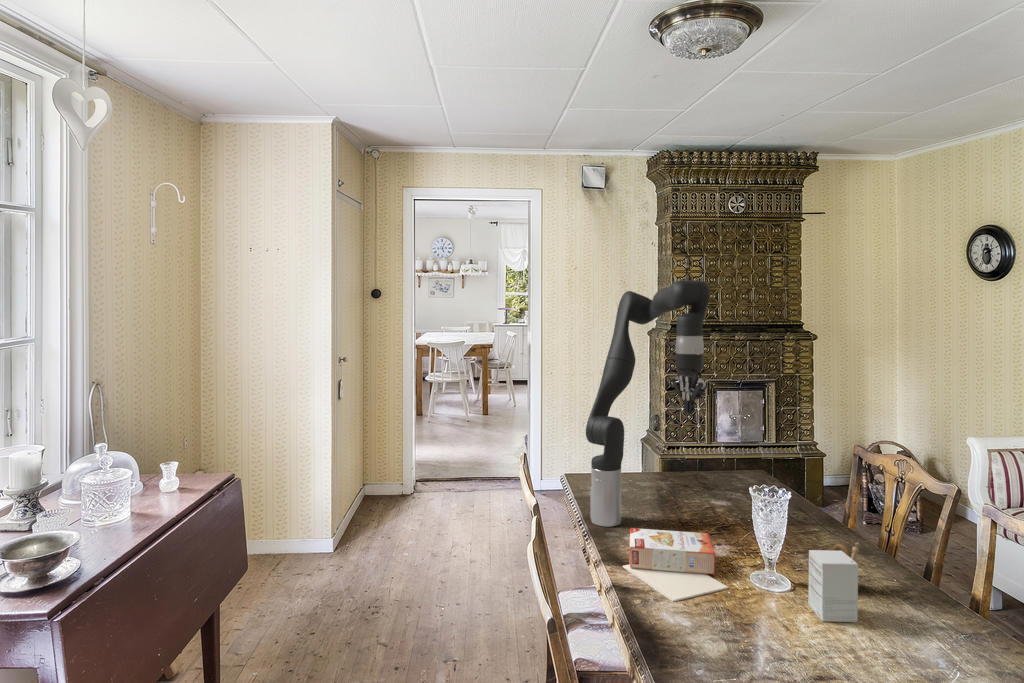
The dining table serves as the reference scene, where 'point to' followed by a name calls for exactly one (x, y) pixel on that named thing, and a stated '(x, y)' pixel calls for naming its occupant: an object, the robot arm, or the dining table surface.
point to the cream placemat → (677, 582)
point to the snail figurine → (847, 550)
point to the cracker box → (671, 551)
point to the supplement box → (833, 586)
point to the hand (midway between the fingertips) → (689, 413)
